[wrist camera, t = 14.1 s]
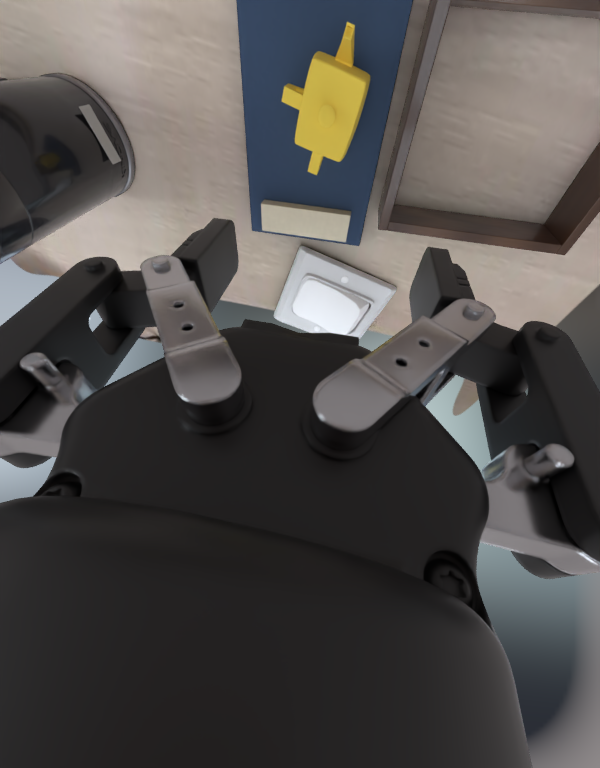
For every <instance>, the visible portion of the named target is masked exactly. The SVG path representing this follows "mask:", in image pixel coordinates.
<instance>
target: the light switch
mask: <svg viewBox="0 0 600 768" xmlns="http://www.w3.org/2000/svg"><path fill="white" fill-rule="evenodd" d="M396 290H397V289H396V287H395V286H393V285H391V284H389V283H387V282H384V281H382V280H380V279H378V278H375V277H373V276H371V275H368V274H366V273H364V272H362V271H359V270H357V269H355V268H353V267H350V266H348V265H346V264H343V263H341V262H339V261H337V260H334V259H332V258H330V257H328V256H325V255H323V254H321V253H318V252H316V251H314V250H312V249H309V248H307V247H305V246H300V247H299V250H298V253H297V255H296V258H295V260H294V263H293V266H292V268H291V271H290V273H289V276H288V279H287V281H286V284H285V286H284V289H283V292H282V294H281V297H280V299H279V302H278V305H277V307H276V310H275V313H274V317H275V318H276V319H277V320H278V321H280V322H283V323H286V324H289V325H291V326H294V327H297V328H299V329H302V330H305V331H307V332H310V333H335V334H342V335H348V336H354V337H359V339H360V338H361V336H362V335H363V334H364V333H365V331H366V330H367V329H368V328H369V326H370V325H371V324H372V322H373V321H374V320H375V318H376V317H377V316H378V314H379V313H380V312H381V311H382V309H383V308H384V307H385V305H386V304H387V303H388V301H389V300H390V299H391V297H392V296H393V295H394V293H395V292H396ZM369 303H370V304H371V305H370V307H369ZM368 308H369V309H368ZM363 315H364V316H363ZM358 322H359V323H358Z"/></svg>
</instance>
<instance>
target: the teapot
mask: <svg viewBox="0 0 600 768" xmlns="http://www.w3.org/2000/svg"><path fill="white" fill-rule="evenodd" d="M354 35H355V25H353V24H351V23H349V22H347V24H346V28H345V31H344V35H343V38H342V41H341V44H340V47H339V50H338V52H337V55H336V57H334V56H331V55H329V54H326V53H324V52H320V51H318V52H316V53H315V55H314V56H313V59H312V61H311V64H310V68H309V71H308V75H307V79H306V83H305V88H304V89H303V88H300V87H297V86H295V85H292V84H289V83H288V84H287V85H285V86H284V90H283V96H282V102H283V103H286V104H288V105H290V106H292V107H294V108H296V109H298V110H300V111H299V116H298V122H297V127H296V133H295V144H297V145H299V146H301V147H303V148H305V149H308V150H310V151H312V156H311V160H310V163H309V167H308V172H310V173H312V174H315V175H317V173H318V171H319V169H320V166H321V163H322V160H323V156H324V157H327V158H329V159H332V160H334V161H337V162H340V161H342V159H343V158H344V157H345V155H346V153H347V150H348V148H349V146H350V143H351V141H352V138H353V136H354V133H355V130H356V128H357V125H358V122H359V119H360V116H361V113H362V109H363V106H364V103H365V99H366V95H367V92H368V88H369V84H370V75H369V74H368V73H367V72H365V71H363V70H361V69H359V68H357V67H355V66H353V63H354Z"/></svg>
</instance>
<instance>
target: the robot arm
mask: <svg viewBox="0 0 600 768" xmlns="http://www.w3.org/2000/svg"><path fill="white" fill-rule="evenodd" d="M134 173H135V164H134V157H133V152H132V149H131V145H130V143H129V140H128V138H127V135H126V133H125V131H124V129H123V127H122V125H121V124H120V122H119V120H118V119H117V117H116V116H115V114H114V113H113V111H112V110H111V109H110V108H109V106H108V105H107V104H106V103H105V102H104V100H103V99H102V98H101V97H100V96H99V95H98V94H97V93H95V92H94V91H93V90H92V89H91V88H90V87H88V86H87V85H86V84H84V83H83V82H81V81H79V80H77V79H76V78H73V77H71V76H68V75H65V74H59V73H54V74H46V75H42V76H39V77H33V78H24V79H13V80H7V79H6V78H0V264H1V263H3V262H4V261H6V260H8V259H9V258H11V257H13V256H15V255H16V254H18V253H20V252H21V251H23V250H24V249H26V248H28V247H29V246H31V245H33V244H34V243H36V242H38V241H39V240H41V239H43V238H45V237H46V236H48V235H50V234H51V233H53V232H55V231H56V230H58V229H60V228H62V227H63V226H65V225H67V224H68V223H70V222H72V221H73V220H75V219H77V218H79V217H80V216H82V215H84V214H85V213H87V212H89V211H90V210H92V209H94V208H95V207H97V206H99V205H101V204H102V203H104V202H106V201H108V200H109V199H111V198H113V197H116V196H118V195H120V194H122V193H124V192H125V191H126V190H128V188H129V187H130V186H131V184H132V182H133V179H134ZM140 269H141V271H120V269H119V267H118V264H117V262H116V261H115V260H114V259H112V258H109V257H93V258H89V259H85V260H83V261H81V262H79V263H77V264H76V265H74V266H73V267H72V268H71V269H70V270H68V271H67V272H66V273H65V274H64V275H62V276H61V277H60V278H59V279H57V280H56V281H55V282H54V283H53V284H51V285H50V286H49V287H48V288H47V289H45V290H44V291H43V292H42V293H40V294H39V295H38V296H37V297H35V298H34V299H33V300H32V301H31V302H29V304H27V305H26V306H25V307H24V308H22V309H21V310H20V311H18V312H17V313H16V314H15V315H14V316H12V317H11V318H10V319H9V320H7V322H5V323H4V324H3V325H1V326H0V458H2V459H4V460H6V461H7V462H9V463H11V464H12V465H14V466H16V467H20V468H29V467H33V466H37V465H39V464H42V463H44V462H45V461H47V460H48V459H50V458H51V457H57V458H56V461H55V463H54V466H53V468H52V470H51V472H50V474H49V476H48V478H47V480H46V482H45V483H44V484H43V486H42V487H41V488H40V489H39V490H38V492H37V493H36V494H35V495H34V496H33V497H27V498H19V499H14V500H10V501H7V502H3V503H0V768H532V764H531V759H530V754H529V749H528V745H527V740H526V735H525V730H524V726H523V720H522V715H521V711H520V706H519V701H518V696H517V691H516V686H515V682H514V678H513V674H512V670H511V666H510V664H509V661H508V658H507V656H506V653H505V651H504V649H503V647H502V645H501V642H500V640H499V638H498V636H497V634H496V633H495V630H494V628H493V626H492V624H491V622H490V619H489V617H488V614H487V612H486V609H485V606H484V604H483V601H482V598H481V595H480V592H479V589H478V584H477V576H476V565H477V564H476V563H477V553H478V546H479V543H480V542H481V543H485V544H488V545H492V546H496V547H500V548H504V549H507V550H511V552H512V554H513V555H514V557H515V558H516V560H517V561H518V562H519V563H520V564H521V565H522V566H523V567H524V568H525V569H526V570H528V571H529V572H530V573H532V574H534V575H536V576H538V577H540V578H544V579H554V578H561V577H567V576H575V575H582V574H589V573H596V572H600V392H599V390H598V388H597V386H596V384H595V382H594V381H593V379H592V377H591V375H590V373H589V371H588V370H587V368H586V366H585V364H584V362H583V361H582V359H581V357H580V355H579V353H578V351H577V350H576V348H575V346H574V344H573V342H572V340H571V339H570V337H569V336H568V335H567V334H566V333H564V332H563V331H562V330H560V329H559V328H557V327H555V326H553V325H550V324H547V323H544V322H539V321H530V322H527V323H525V324H524V325H523V327H522V328H521V329H520V330H519V331H516V330H513V329H510V328H507V327H504V326H501V325H499V324H496V323H494V321H495V319H496V315H495V313H494V311H493V310H492V309H491V308H490V307H489V306H487V305H485V304H484V303H482V302H479V301H476V300H475V298H474V295H473V292H472V289H471V287H469V286H470V284H469V281H468V280H467V279H468V278H467V276H466V273H465V271H464V270H463V269H462V268H461V267H460V266H459V265H458V264H453V263H452V261H451V258H450V255H449V252H448V250H447V249H440V248H433V247H428V248H427V249H426V251H425V253H424V255H423V257H422V260H421V262H420V265H419V268H418V270H417V273H416V275H415V278H414V280H413V283H412V286H411V289H410V296H409V299H410V307H411V316H412V323H411V324H410V325H408V326H407V327H406V328H404V329H403V330H401V331H400V332H399V333H397V334H396V335H395V336H393V337H392V338H390V339H389V340H388V341H386V342H385V343H384V344H382V345H381V346H379V347H378V348H377V349H375V350H374V351H372V352H371V351H370V350H368V349H366V348H363V347H361V346H358V344H359V337H354V336H348V335H342V334H335V333H297V332H295V331H292V330H289V329H286V328H283V327H281V326H278V325H275V324H272V323H266V322H259V321H252V320H247V319H245V320H244V322H243V324H242V326H241V327H233V328H227V329H223V330H218V328H217V326H216V324H215V322H214V320H213V318H212V316H211V312H212V311H213V309H214V307H215V306H216V304H217V303H218V301H219V299H220V298H221V296H222V295H223V293H224V291H225V290H226V288H227V286H228V285H229V283H230V282H231V280H232V278H233V277H234V275H235V274H236V272H237V269H238V251H237V242H236V234H235V226H234V223H233V221H232V220H225V219H218V218H213V219H212V220H211V222H210V223H209V224H208V225H207V226H206V227H205V228H204V229H201V230H199V231H196V232H194V233H192V234H191V235H190V236H189V237H188V238H187V241H186V240H185V242H184V243H183V244H182V245H181V246H180V247H179V248H178V249H177V250H176V251H175V252H174V253H173V254H172V255H171V256H169V255H161V256H155V257H151V258H149V259H147V260H145V261H144V262H143V263H142V264H141V266H140ZM95 309H96V310H97V311H98V313H99V315H100V316H101V318H102V320H103V321H102V322H101V323H100V324H99V326H98V327H97V328H96V329H95V330H94V331H93V332H92V331H91V329H90V327H89V322H88V321H89V317H90V315H91V313H92V312H93V311H94V310H95ZM145 327H157V329H158V333H159V336H160V339H161V342H162V346H163V349H164V356H165V357H164V358H161V359H159V360H157V361H155V362H153V363H151V364H149V365H147V366H145V367H143V368H141V369H139V370H137V371H135V372H133V373H131V374H129V375H127V376H125V377H123V378H121V379H119V380H117V381H115V382H113V383H111V384H109V385H107V386H105V385H106V383H107V382H108V380H109V379H110V378H111V376H112V375H113V373H114V372H115V370H116V369H117V368H118V366H119V365H120V363H121V362H122V361H123V359H124V358H125V356H126V355H127V354H128V352H129V351H130V349H131V348H132V347H133V345H134V344H135V342H136V341H137V340H138V338H139V337H140V335H141V334H142V333H143V331H144V329H145ZM455 375H458V376H460V377H463V378H465V379H468V380H470V381H473V382H475V383H476V386H477V391H478V396H479V401H480V406H481V411H482V416H483V421H484V427H485V432H486V437H487V442H488V447H489V451H490V456H491V461H490V462H489V463H487V464H486V465H485V466H484V467H483V470H482V474H481V472H480V470H479V469H478V467H477V465H476V464H475V462H474V461H473V460H472V459H471V457H470V456H469V455H468V454H467V453H466V452H465V451H464V449H462V447H461V446H460V445H459V444H458V443H457V442H456V441H455V439H454V438H453V437H452V436H451V435H450V434H449V433H448V432H447V431H446V429H445V428H444V427H443V426H442V425H441V424H440V423H439V421H438V420H437V419H436V418H435V417H434V416H433V415H432V414H431V413H430V411H429V410H428V409H427V408H426V407H425V406H426V405H427V404H428V403H429V401H430V400H431V399H432V398H433V397H434V396H435V395H436V394H437V393H438V392H439V391H440V390H441V389H442V388H443V387H444V386H445V385H446V384H447V383H448V382H449V381H450V380H451V379H452V378H453V377H454V376H455ZM104 386H105V387H104ZM527 388H528V395H527V396H526V393H525V390H526V389H527Z"/></svg>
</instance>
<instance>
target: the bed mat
mask: <svg viewBox="0 0 600 768" xmlns="http://www.w3.org/2000/svg"><path fill="white" fill-rule="evenodd" d="M412 2H413V0H237V14H238V29H239V43H240V58H241V73H242V88H243V103H244V118H245V133H246V148H247V163H248V177H249V192H250V207H251V222H252V231H258V232H265V233H272V234H279V235H286V236H293V237H300V238H307V239H314V240H321V241H328V242H335V243H342V244H349V245H356V246H359V244H360V240H361V235H362V231H363V226H364V221H365V217H366V212H367V208H368V203H369V199H370V194H371V190H372V185H373V180H374V176H375V171H376V167H377V162H378V158H379V153H380V148H381V144H382V139H383V135H384V130H385V126H386V121H387V117H388V112H389V107H390V103H391V98H392V94H393V89H394V85H395V80H396V75H397V71H398V66H399V62H400V57H401V53H402V48H403V43H404V39H405V34H406V30H407V25H408V21H409V16H410V12H411V7H412ZM347 22H349V23H351V24H353V25H355V35H354V63H353V66H355V67H357V68H359V69H361V70H363V71H365V72H367V73H368V74H369V75H370V84H369V88H368V92H367V95H366V99H365V103H364V106H363V109H362V113H361V116H360V119H359V122H358V125H357V128H356V130H355V133H354V136H353V138H352V141H351V143H350V146H349V148H348V150H347V153H346V155H345V157H344V158H343V159H342V161H340V162H337V161H334V160H332V159H329V158H327V157H324V156H323V160H322V163H321V166H320V169H319V171H318V173H317V175H315V174H312V173H310V172H308V167H309V163H310V160H311V156H312V151H310V150H308V149H305V148H303V147H301V146H299V145H297V144H295V133H296V127H297V122H298V116H299V111H300V110H298V109H296V108H294V107H292V106H290V105H288V104H286V103H283V102H282V96H283V90H284V86H285V85H287V84H288V83H289V84H292V85H295V86H297V87H300V88H303V89H304V88H305V83H306V79H307V75H308V71H309V68H310V64H311V61H312V59H313V56H314V55H315V53H316V52H318V51H320V52H324V53H326V54H329V55H331V56H334V57H336V55H337V52H338V50H339V47H340V44H341V41H342V38H343V35H344V31H345V28H346V24H347Z"/></svg>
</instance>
